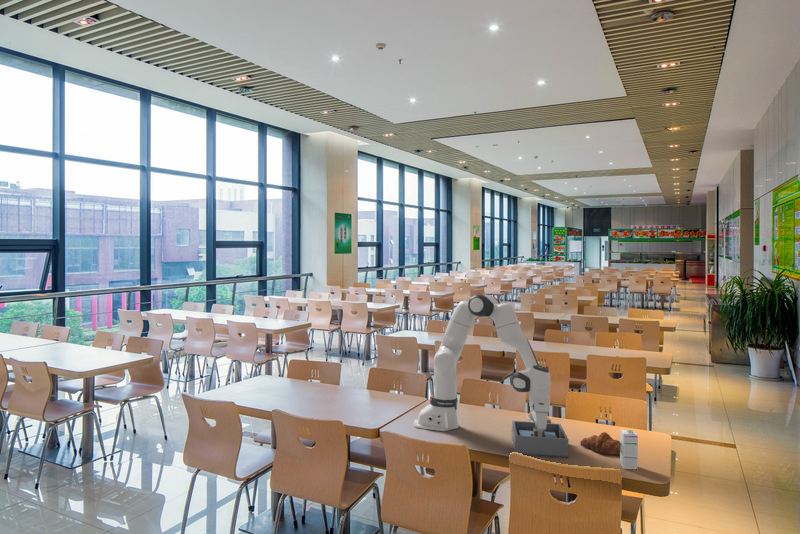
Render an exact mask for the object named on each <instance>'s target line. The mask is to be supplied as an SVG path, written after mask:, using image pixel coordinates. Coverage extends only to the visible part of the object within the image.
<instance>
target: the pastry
mask: <svg viewBox="0 0 800 534" xmlns="http://www.w3.org/2000/svg"><path fill="white" fill-rule="evenodd" d="M580 446H582V447H584V448H585V449H587V450H591V451H592V452H594V451H595V452H594V453H597V454H599V453H600V454H602V455H606V456H616V455H617V456H618V457H620V440H618V439H614V438H613V437H611V435H610V434H608V433H607V432H606V431H603V432H601V433H599V435H596V434H593V435H591V436H589V437H583V439H581V440H580Z"/></svg>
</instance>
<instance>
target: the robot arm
mask: <svg viewBox="0 0 800 534" xmlns="http://www.w3.org/2000/svg"><path fill="white" fill-rule="evenodd" d="M476 318H483V319H486V318H487V319H488V318H491V320H492V321H493V322H494V326H495V329H496V330H495V331H496V332H497V333H496V334H497V336H498V339H499V341H500V342H501V343H502V344H504V345H505V346H507V347H511V348H513V349H514V350H516V351H518V353H519V355H520V356H521V359H522V361H523V364H524V366H525V369H522V370H518V371H516V372H513V374H512V376H511V379H510V383H511V387H512V388H513V390H515V391H516V392H519V393H529V400H528V401H529V402H528V404H529V407H530V408H531V410H532V411H533V418H534V421H535V428H537V429H538V437H542V433H543V430H546V426H547V417H548V415H549V413H550V408H551V405H550V404H551V395H550V389H551V385H552V383H551V373H550V371H549V369H548V368H547V367H545V366H542V365H540V364H539V361H538V360H537V358H536V355H535V352H534V350H533V347H532V345H531V344H530V341H529V339H528V338H527V337H526V336H525V334H524V333H523V330H522V328H521V325H520V322H519V319H518V316H517V314H516V312H515V309H514V308H513V306H512V305H511V304H510V303H508V302H501V303H500V301H499V299H497V297H495V296H493V295H488V294H481V293H479V294H474V295H473V296H471V297H470V298H469V300H462V301H459V302H458V304H457V305H456V307H455V308H454V310H453V312H452V314H451V317H450V319H449V321H448V322H447V323H448V324H447V326H446V329H445V331H444V334H443V336H442V340H441V343H440V345H439V348H438V350H437V352H435V355H434V357H433V377H434V388H433V389H434V393H433V394H434V395H433V394H432V395H430V396H429V404H428V405H425V407H423V408H422V409H421V410H420V411H419V412H418V417H417V418H415V419H414V421H413V427H414V428H417V429H422V430H423V429H424V430H431V431H439V432H448V431H451V430H456V429H458V428H459V427H460V425H459V421H458V412H457V409H458V397H457V392H458V387H457V386H458V382H457V381H458V378H457V363H458V361H459V358H460V357H461V354H462V351H463V349H464V347H465V344H466V341H467V339H468V336H469V335H470V332H471V328H472V326H473V323H474V322H475V319H476ZM548 418H549V417H548Z"/></svg>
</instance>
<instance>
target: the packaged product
mask: <svg viewBox="0 0 800 534" xmlns="http://www.w3.org/2000/svg"><path fill="white" fill-rule="evenodd" d="M526 417H527V418H526ZM526 417H525V418H526V419H527V420H528V422H535V421H534V418H533V410H532V411H529V413H528V415H526ZM547 423H552V420H551V419H550V418H549V417H547Z"/></svg>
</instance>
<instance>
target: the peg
mask: <svg viewBox="0 0 800 534" xmlns="http://www.w3.org/2000/svg"><path fill="white" fill-rule="evenodd" d="M533 436H536V437H538V429H537V428H533ZM542 437H545V432H544V430H543V433H542Z"/></svg>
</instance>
